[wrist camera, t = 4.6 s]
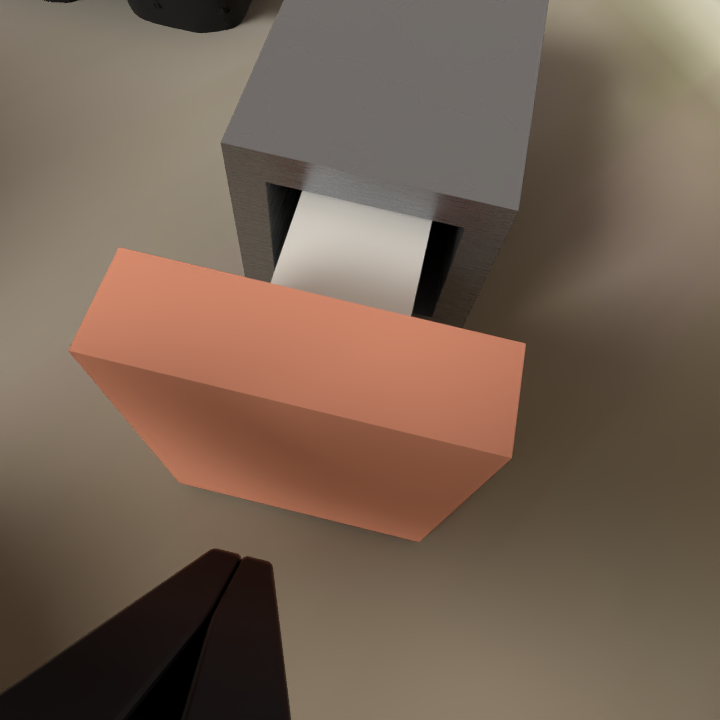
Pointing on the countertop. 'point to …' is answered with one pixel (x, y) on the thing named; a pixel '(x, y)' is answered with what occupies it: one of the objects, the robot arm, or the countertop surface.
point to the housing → (391, 128)
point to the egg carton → (190, 13)
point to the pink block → (308, 374)
